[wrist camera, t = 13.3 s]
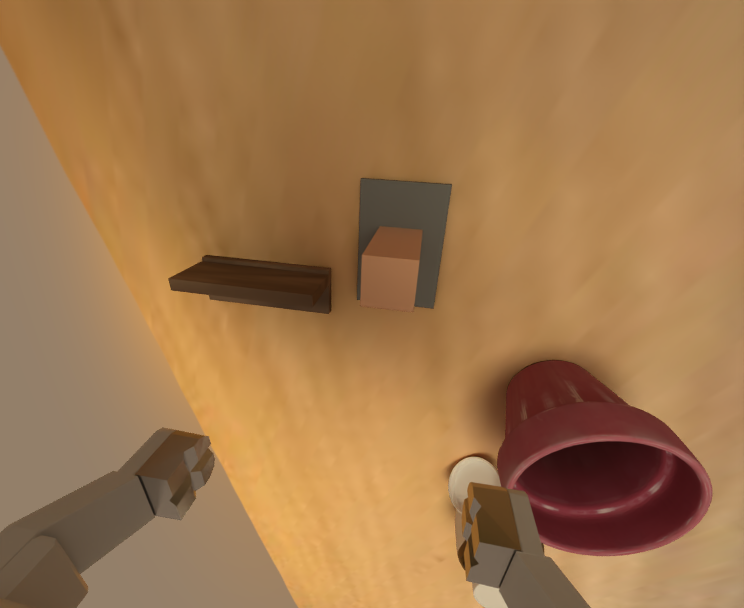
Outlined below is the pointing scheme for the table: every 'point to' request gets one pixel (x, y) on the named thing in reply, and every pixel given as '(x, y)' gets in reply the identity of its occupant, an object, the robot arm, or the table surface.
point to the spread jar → (457, 487)
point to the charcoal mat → (407, 224)
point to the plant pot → (596, 465)
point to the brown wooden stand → (258, 283)
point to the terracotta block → (391, 269)
